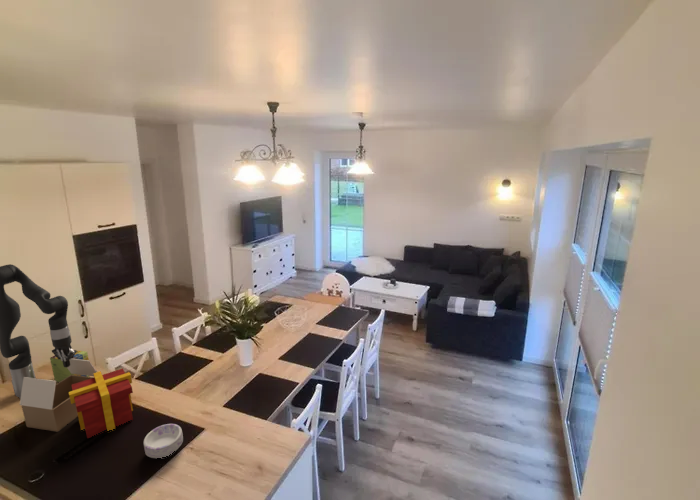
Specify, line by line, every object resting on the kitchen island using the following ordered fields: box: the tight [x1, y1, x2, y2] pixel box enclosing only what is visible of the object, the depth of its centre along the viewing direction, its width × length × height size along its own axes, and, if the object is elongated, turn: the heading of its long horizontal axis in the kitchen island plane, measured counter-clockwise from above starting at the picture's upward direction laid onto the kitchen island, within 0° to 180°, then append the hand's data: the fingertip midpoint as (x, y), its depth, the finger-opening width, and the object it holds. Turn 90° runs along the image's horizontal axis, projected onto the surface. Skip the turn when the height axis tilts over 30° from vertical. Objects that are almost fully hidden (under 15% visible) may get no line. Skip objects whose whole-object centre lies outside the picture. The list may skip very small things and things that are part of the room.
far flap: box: [67, 359, 98, 377], centre depth 193 cm, size 18×13×1 cm
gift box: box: [69, 368, 134, 439], centre depth 179 cm, size 25×25×20 cm
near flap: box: [19, 377, 57, 409], centre depth 172 cm, size 18×13×1 cm
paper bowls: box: [143, 423, 184, 459], centre depth 161 cm, size 15×15×8 cm
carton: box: [20, 375, 94, 433], centre depth 186 cm, size 18×26×12 cm
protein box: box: [49, 349, 90, 383], centre depth 214 cm, size 10×15×16 cm
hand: (67, 366), depth 186 cm, fingers closed
